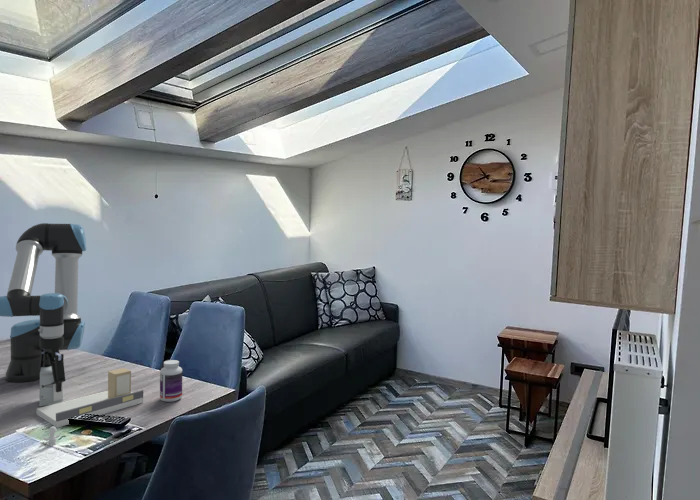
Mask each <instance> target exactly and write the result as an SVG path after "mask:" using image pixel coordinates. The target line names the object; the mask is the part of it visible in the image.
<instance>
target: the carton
mask: <svg viewBox="0 0 700 500" xmlns="http://www.w3.org/2000/svg"><path fill="white" fill-rule="evenodd" d="M107 391H108V398H109V399H111V398H114V397H118V396H122V395H126V394H129V393H131V392H132V371H131V370H130V369H128V368H125V367H122V368H116V369H113V370H109V371H107Z"/></svg>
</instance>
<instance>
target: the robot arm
mask: <svg viewBox="0 0 700 500" xmlns="http://www.w3.org/2000/svg"><path fill="white" fill-rule="evenodd" d="M15 251H16V258H15V259H14V260H15V261H14V266H13V269H12V273H11V277H10V282H9V284H8V288H7V289H8V290H7V293H6V295H3V296H0V317H4V318H5V317H6V318H7V317H8V318H10V317H11V318H12V317H31V316H37V317H38V316H39V319H37V318H36V319H31V320H24V321H21V322H17V323H15V324H13V325H12V326H11V327H10V335H9V339H10V361H9V363H8V367H7V368H6V372H5V380H6V381H7V382H10V383H27V382H28V383H29V382H34V381H37V380H38V381H39V380H40V370H41V367H49V366H51V368H52V373H53V378H54V382H53V383H52V384H53V401H57V400H61V399H62V382H63V383H64V382H66V374H65V362H64V353H60V351H69V350H77V349H79V348H81V346H82V344H83V339H84V334H85V333H84V332H85V325H86V324H85V321H83V320H82V317H81V316H80V315H79V314H78V294H79V293H78V292H79V291H78V289H79V286H78V285H79V259H80V258H81V257H83V252H86V251H87V240H86V234H85V229H84V227H83V226H82V225H81V224H76V223H75V224H74V223H45V222H43V223H38V224H37V223H36V225H35V224H34V225H33V226H31V227H29V228H27V229H26V230H25V231H24V232H23V233H22V234H21V235H20V236H19V238H18V240H17V241H16V245H15ZM44 251H46V252H47V251H50V252H51V256H52V257H53V258H54V259H55V271H54V292H49V293H48V292H47V293H43V294H41V295H32V291H33V286H34V282H35V277H36V271H37V268H38V263H39V259H40V258H39V257H40V256H41V255H43V254H42V253H43V252H44Z"/></svg>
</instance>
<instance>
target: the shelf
mask: <svg viewBox="0 0 700 500" xmlns="http://www.w3.org/2000/svg"><path fill="white" fill-rule="evenodd" d="M143 403H144V390H143V389H141V390H137V391H131V393H129V394H126V395H122V396H118V397H114V398H111V399H109V398H108V390H104V391H101V392H96V393H93V394H89V395H84V396H80V397H77V398H74V399H73V398H72V399H69V400H66V401H65V400H64V401H63V402H61V403H57V404H53V405H46V406H40V407H37V408H36V415H37V416H38V417H40V418H41V419H42V420H45V421H46V422H48V423H49V424H50V425H52V426H54V427H55V428H56V429H57V428H60V427H64V426H67V425H70V424H69V420H68V419H69V418H71V417H73V416H78V415H83V414H98V415H99V416H102V415H104V414H105V415H106V414H109V413H112V412H115V411H118V410H123V409H125V408H129V407H133V406H135V405H139V404H143Z"/></svg>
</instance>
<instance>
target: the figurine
mask: <svg viewBox="0 0 700 500" xmlns="http://www.w3.org/2000/svg"><path fill="white" fill-rule="evenodd" d="M48 430H49V431H48V434H47V435H48V436H49V437H46V436H43V437H42V438H43V440H44V441H42V442H41V444H40V445H48V446H49V447H53V446H56V445H57V439H58V438H60V435H61V434H62V433H59V434H57V435H55V434H56V432H57V427H55V426H54V425H52V426H50V427H49V429H48ZM45 441H46V442H45Z"/></svg>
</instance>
